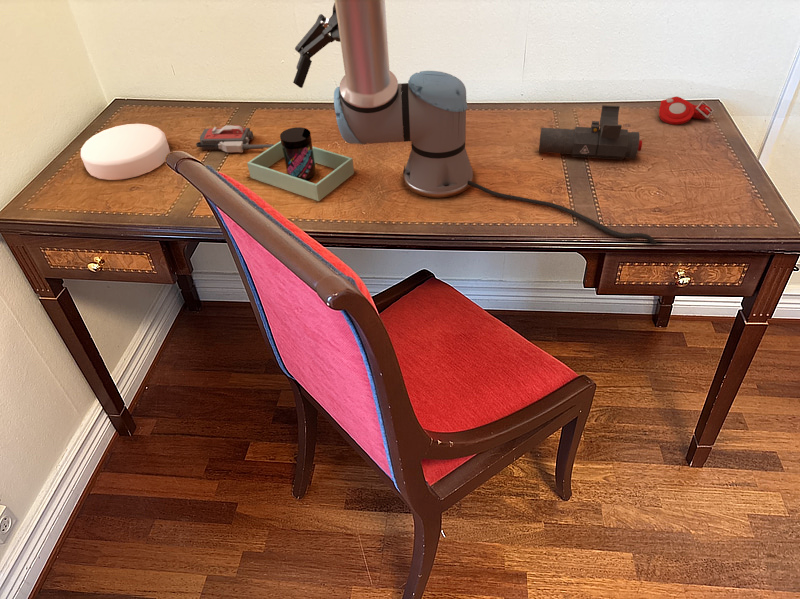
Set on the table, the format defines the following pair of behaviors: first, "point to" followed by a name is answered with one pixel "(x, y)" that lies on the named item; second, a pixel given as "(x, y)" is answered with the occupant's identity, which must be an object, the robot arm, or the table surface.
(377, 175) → the table surface
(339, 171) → the rectangular frame
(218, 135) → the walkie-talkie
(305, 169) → the supplement container
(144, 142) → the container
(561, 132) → the laser sight
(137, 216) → the table surface
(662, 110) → the tracker holder
